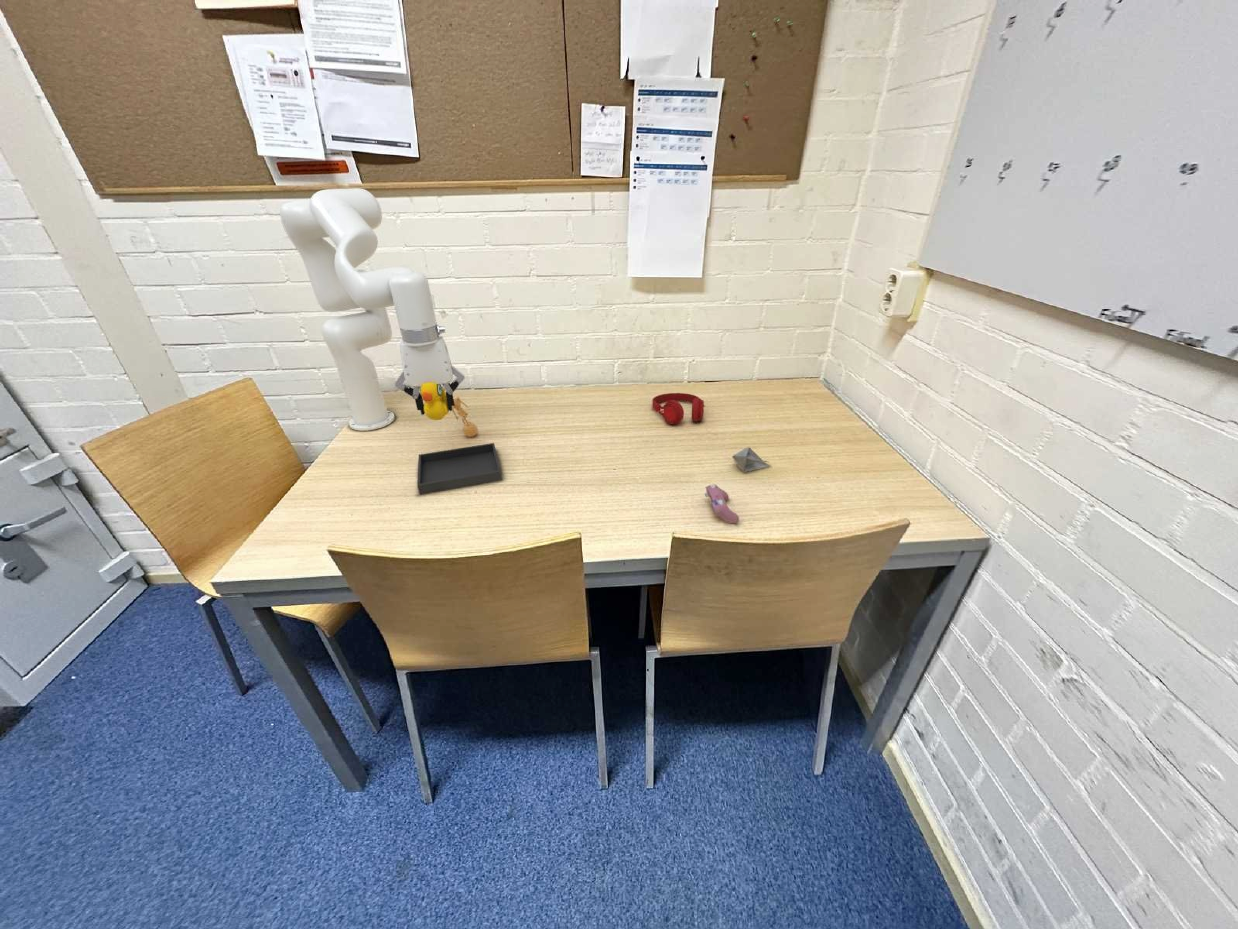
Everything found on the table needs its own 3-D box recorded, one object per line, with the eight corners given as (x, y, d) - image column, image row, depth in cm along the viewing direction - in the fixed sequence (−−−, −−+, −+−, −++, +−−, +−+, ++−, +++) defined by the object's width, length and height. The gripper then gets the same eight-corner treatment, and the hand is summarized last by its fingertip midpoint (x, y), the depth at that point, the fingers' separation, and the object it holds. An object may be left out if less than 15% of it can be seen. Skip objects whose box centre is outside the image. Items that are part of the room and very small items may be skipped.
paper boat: (749, 450, 130) (782, 453, 124) (744, 474, 130) (777, 478, 123) (725, 441, 121) (760, 443, 115) (721, 467, 121) (755, 471, 115)
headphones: (712, 423, 145) (690, 405, 163) (713, 400, 142) (690, 384, 161) (664, 428, 143) (647, 409, 161) (664, 405, 140) (646, 388, 158)
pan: (420, 463, 129) (418, 454, 127) (495, 451, 134) (494, 442, 132) (419, 494, 116) (417, 485, 115) (502, 480, 121) (500, 471, 120)
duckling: (444, 428, 112) (435, 387, 107) (420, 429, 111) (410, 388, 106) (455, 407, 121) (447, 369, 116) (433, 408, 121) (424, 369, 116)
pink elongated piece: (710, 504, 114) (699, 482, 111) (728, 496, 113) (718, 474, 110) (721, 531, 106) (709, 509, 102) (741, 522, 105) (730, 499, 101)
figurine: (473, 442, 138) (466, 403, 132) (452, 442, 138) (444, 403, 132) (482, 429, 145) (475, 391, 139) (462, 429, 145) (454, 391, 139)
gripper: (460, 325, 112) (473, 399, 121) (378, 333, 107) (399, 409, 117) (462, 334, 105) (475, 412, 115) (375, 343, 101) (397, 422, 110)
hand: (436, 409), depth 116 cm, fingers closed on duckling, 5 cm apart
